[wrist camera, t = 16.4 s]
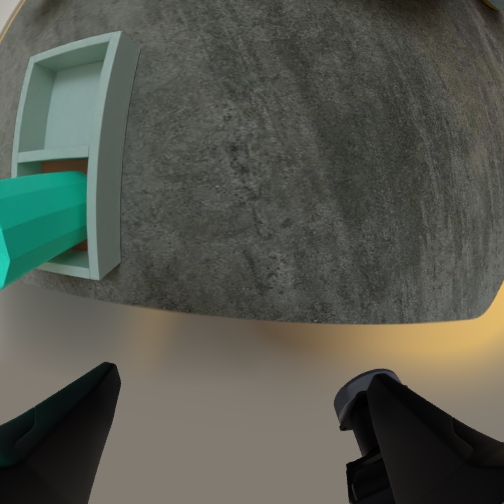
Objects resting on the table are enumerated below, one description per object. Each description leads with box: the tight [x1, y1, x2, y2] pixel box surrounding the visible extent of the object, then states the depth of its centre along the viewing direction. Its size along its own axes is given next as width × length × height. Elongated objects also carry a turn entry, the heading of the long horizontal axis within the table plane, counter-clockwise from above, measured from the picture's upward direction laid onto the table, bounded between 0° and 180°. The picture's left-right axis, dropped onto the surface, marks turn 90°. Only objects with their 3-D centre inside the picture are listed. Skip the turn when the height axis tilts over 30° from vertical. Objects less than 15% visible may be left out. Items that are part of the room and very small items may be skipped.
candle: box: [0, 171, 87, 290], centre depth 12 cm, size 6×6×12 cm
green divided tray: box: [11, 31, 140, 280], centre depth 16 cm, size 9×17×4 cm, turn 174°
